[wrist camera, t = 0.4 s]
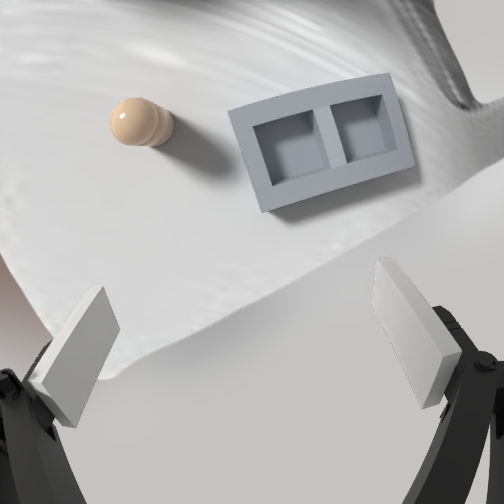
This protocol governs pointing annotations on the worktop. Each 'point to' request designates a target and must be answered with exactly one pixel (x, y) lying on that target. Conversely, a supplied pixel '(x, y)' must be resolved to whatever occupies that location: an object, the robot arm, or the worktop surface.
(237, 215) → the worktop surface
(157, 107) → the peach dome-topped cylinder
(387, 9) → the worktop surface
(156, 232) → the worktop surface
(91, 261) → the worktop surface
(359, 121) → the divided tray
